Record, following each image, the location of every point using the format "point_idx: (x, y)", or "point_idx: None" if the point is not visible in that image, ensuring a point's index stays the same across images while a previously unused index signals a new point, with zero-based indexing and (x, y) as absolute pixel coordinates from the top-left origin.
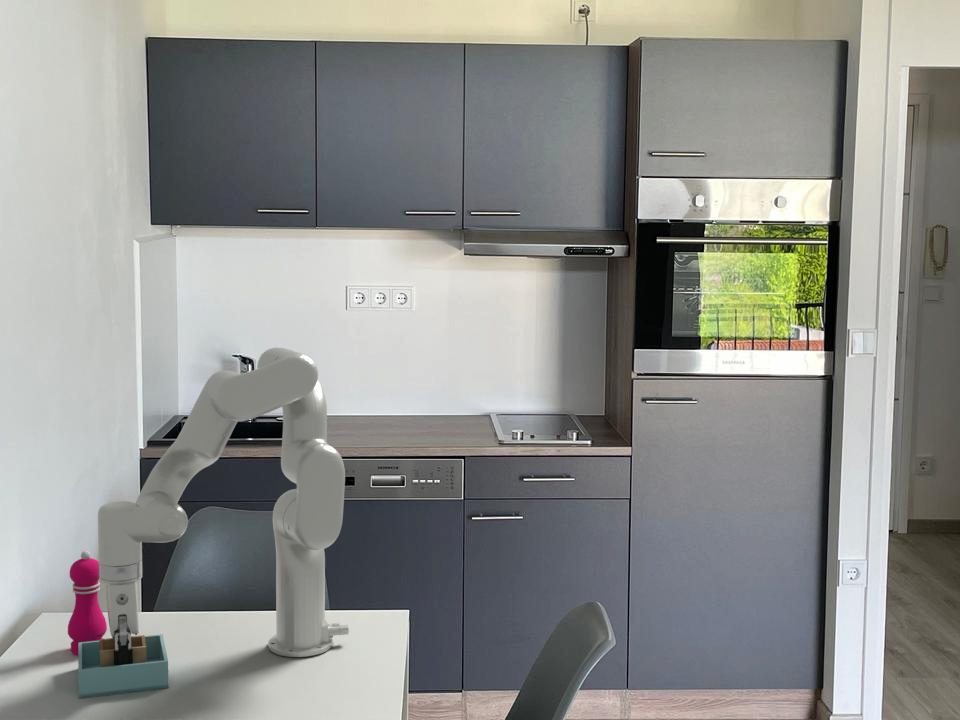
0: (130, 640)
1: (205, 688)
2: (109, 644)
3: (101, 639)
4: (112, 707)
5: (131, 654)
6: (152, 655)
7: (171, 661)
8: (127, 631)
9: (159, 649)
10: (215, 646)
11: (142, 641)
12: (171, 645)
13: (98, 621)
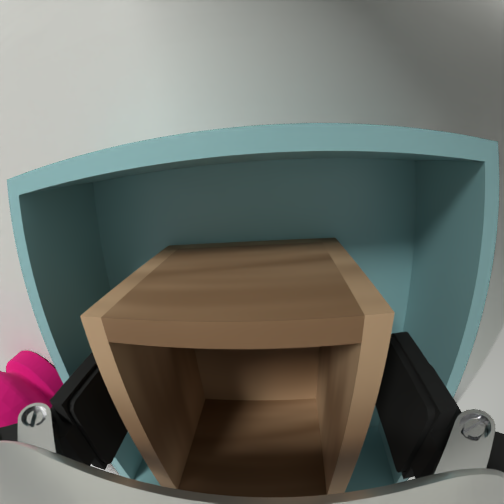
0: (486, 461)
1: (436, 26)
2: (174, 456)
3: None
4: (481, 337)
5: (439, 387)
6: (88, 216)
7: (115, 131)
8: (75, 415)
9: (70, 187)
10: (46, 18)
11: (232, 345)
12: (3, 159)
13: (3, 426)
